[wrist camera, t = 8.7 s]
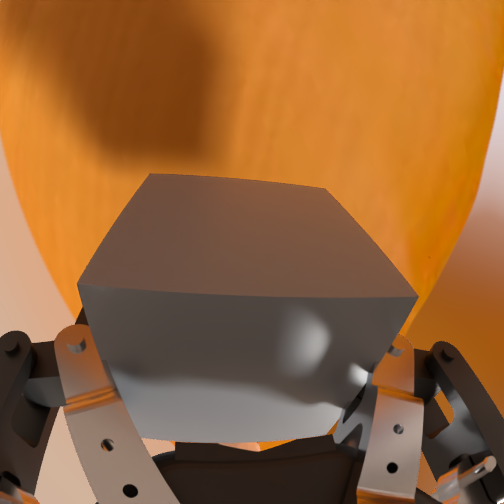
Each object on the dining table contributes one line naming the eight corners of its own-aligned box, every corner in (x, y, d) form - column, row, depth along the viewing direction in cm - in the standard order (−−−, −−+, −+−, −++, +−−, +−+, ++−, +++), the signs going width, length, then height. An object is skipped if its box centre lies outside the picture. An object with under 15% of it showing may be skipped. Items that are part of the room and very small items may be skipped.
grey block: (149, 173, 10) (77, 283, 4) (325, 188, 11) (418, 296, 5) (156, 310, 13) (135, 436, 8) (291, 316, 14) (325, 434, 9)
